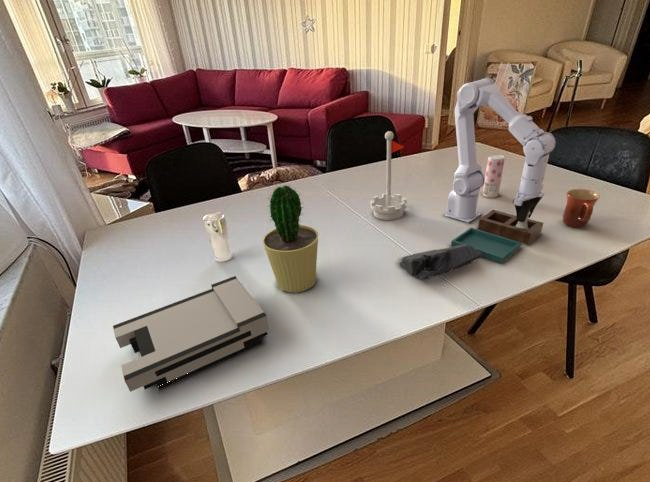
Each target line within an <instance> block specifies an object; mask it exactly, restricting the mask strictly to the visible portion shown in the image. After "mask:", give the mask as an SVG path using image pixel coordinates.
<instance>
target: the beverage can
mask: <svg viewBox="0 0 650 482" xmlns="http://www.w3.org/2000/svg"><path fill="white" fill-rule="evenodd" d="M504 164H505V156H504V155H503V154H491V155H489V156H488V158H487V163H486V169H485V174H484V177H485V183H484V185H483V189H482V196H484V197H486V198H491V199H492V198H493V199H494V198H497V197H498V196H499V193H500V189H501V183H502V178H503V177H502V176H503V170H504V166H505V165H504Z"/></svg>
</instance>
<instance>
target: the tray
mask: <svg viewBox="0 0 650 482" xmlns="http://www.w3.org/2000/svg"><path fill="white" fill-rule="evenodd" d="M457 245H470V246H472V247H474V249H477V250H478V251H480V252H481V253H482V254H483V256H482V257H481V258H484V259H486V260H489V261H492V262H495V263H498V264H501V265H502V264H503V263H505V262H506V261H508V259H510V258H511V257H512V256H514V255H515V254H516V253H517V252H518V251H519V250H520V249H521V247H522V243H521V242H517V241H514V240H511V239H507V238H504V237H501V236H497V235H494V234H491V233H488V232H484V231H481V230H478V228H475V227H469V228H468V229H466V230H465V231H463V232H462V233H460V234H459V235H457V236H456V237H455V238H453V239H452V240H451V243H450V247H453V246H457Z"/></svg>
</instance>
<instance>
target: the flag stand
mask: <svg viewBox="0 0 650 482" xmlns="http://www.w3.org/2000/svg"><path fill="white" fill-rule="evenodd" d="M394 136H395V135H394V133H393V131H391V130H390V131H389V130H387V131H386V132H385V134H384V138H385V140H386V192H384V193H382V195H381V196H379V195H377V194H376V195H374V196H373V197H372V199H371V200H370V208H371V209H372V211H373V216H374V217H375V218H377V219H379V220H385V221H389V220H390V221H391V220H397V219H399V218H401V217H402V216H403V215H404V210H405V209H406V208H407V204H408V203H407V202H408V201H407V200H408V199H407V197H405V196H404V197H403V196H402V194H400V193H394V195H392V154H393V153H395V152H397V151H399V150H401V149H404V148H405V146H403V145H401V144H399V143H398V142H396V141H394V140H393V139H394Z"/></svg>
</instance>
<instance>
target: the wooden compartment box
mask: <svg viewBox="0 0 650 482" xmlns="http://www.w3.org/2000/svg"><path fill="white" fill-rule="evenodd" d="M517 223H518V221H517V216H516V215H515V214H512V213H507V212H504V211H500V210H496V209H492V210H490V211H489V212H487V213H486V214H484V215H483V216H482V217H480V218H479V219H478V225H477V229H478V230H481V231H484V232H488V233H491V234H494V235H497V236H501V237H504V238H507V239H511V240H514V241H517V242H521V244H523V245H527V246H529V245H530V244H531V243H532V242H534V240H536V239H537V238H538V237H539V236H540V235H542V230H543V227H544V222H542V221H538V220H534V219H532V218H531V219H530V218H528V220H527V225H528V228H529V229H528V230H526V229H522V228H518V227H515V226H516V224H517Z"/></svg>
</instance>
